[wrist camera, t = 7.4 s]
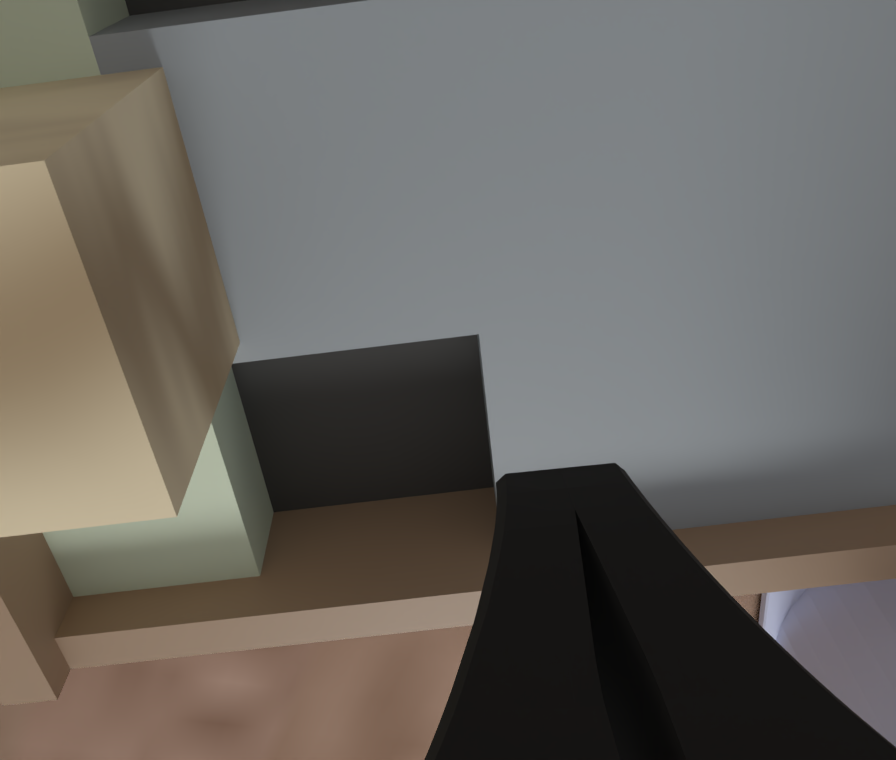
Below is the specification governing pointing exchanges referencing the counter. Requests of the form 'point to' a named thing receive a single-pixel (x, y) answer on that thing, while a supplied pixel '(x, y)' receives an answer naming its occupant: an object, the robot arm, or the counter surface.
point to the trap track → (494, 303)
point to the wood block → (103, 306)
